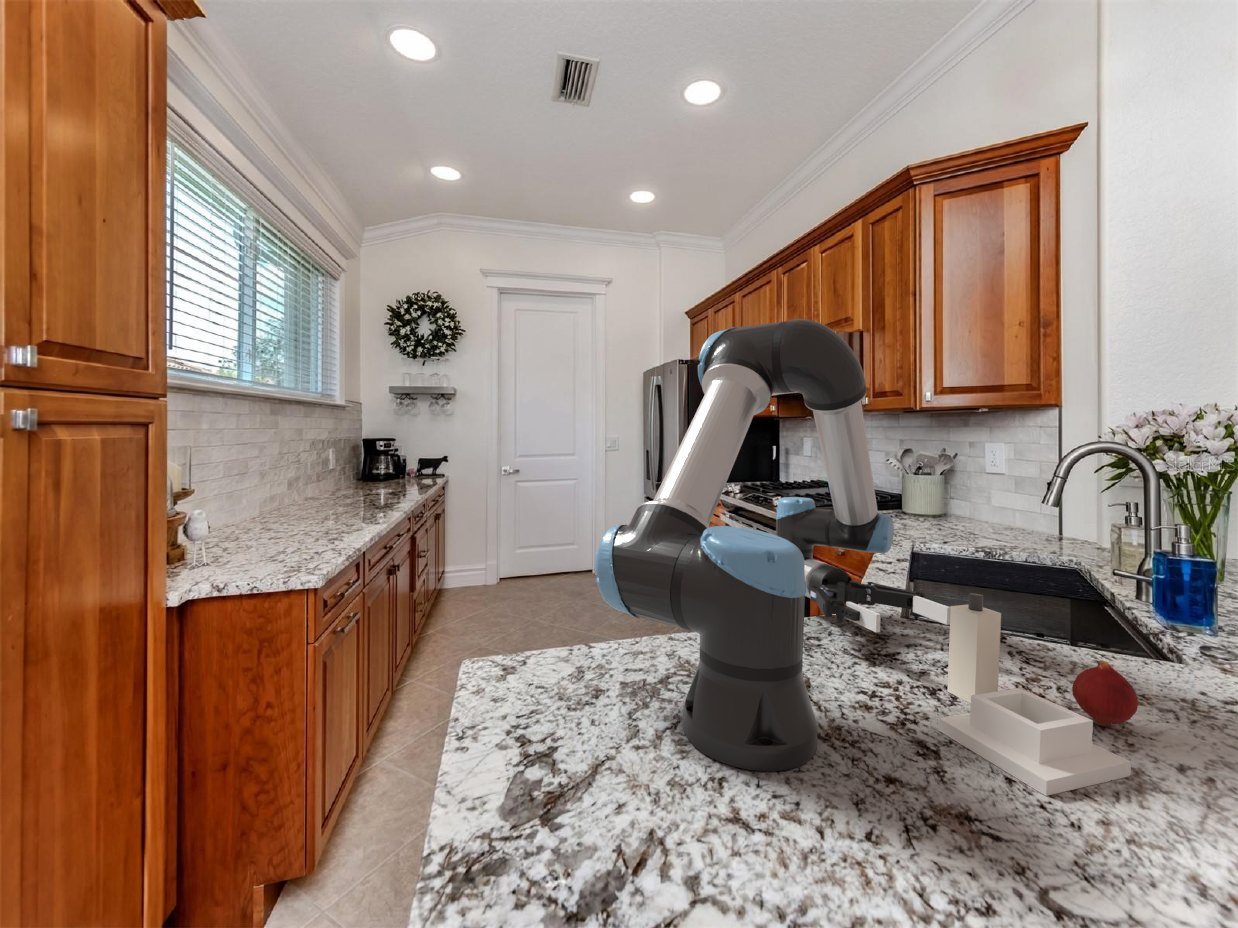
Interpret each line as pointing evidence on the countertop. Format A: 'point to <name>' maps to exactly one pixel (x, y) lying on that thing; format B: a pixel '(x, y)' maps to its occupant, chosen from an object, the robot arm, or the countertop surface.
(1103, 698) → the onion
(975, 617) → the plug
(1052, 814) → the countertop surface
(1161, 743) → the countertop surface
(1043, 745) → the socket
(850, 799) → the countertop surface
